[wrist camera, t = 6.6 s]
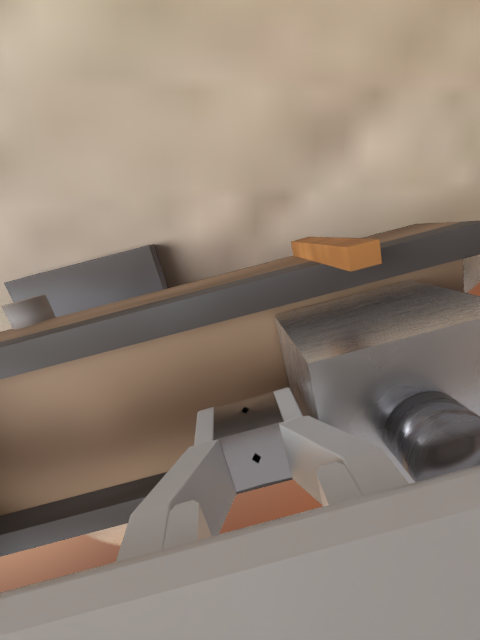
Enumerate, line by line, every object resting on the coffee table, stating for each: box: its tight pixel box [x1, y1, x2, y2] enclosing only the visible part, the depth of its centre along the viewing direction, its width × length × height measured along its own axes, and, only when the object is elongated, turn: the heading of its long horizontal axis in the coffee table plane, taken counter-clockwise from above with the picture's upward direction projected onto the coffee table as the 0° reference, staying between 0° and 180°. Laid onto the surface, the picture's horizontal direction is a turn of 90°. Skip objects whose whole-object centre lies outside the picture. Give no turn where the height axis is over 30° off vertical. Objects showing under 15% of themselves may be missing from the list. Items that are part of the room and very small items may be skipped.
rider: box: [274, 280, 480, 484], centre depth 9 cm, size 5×5×5 cm
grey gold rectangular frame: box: [0, 221, 480, 556], centre depth 14 cm, size 12×25×14 cm, turn 104°
